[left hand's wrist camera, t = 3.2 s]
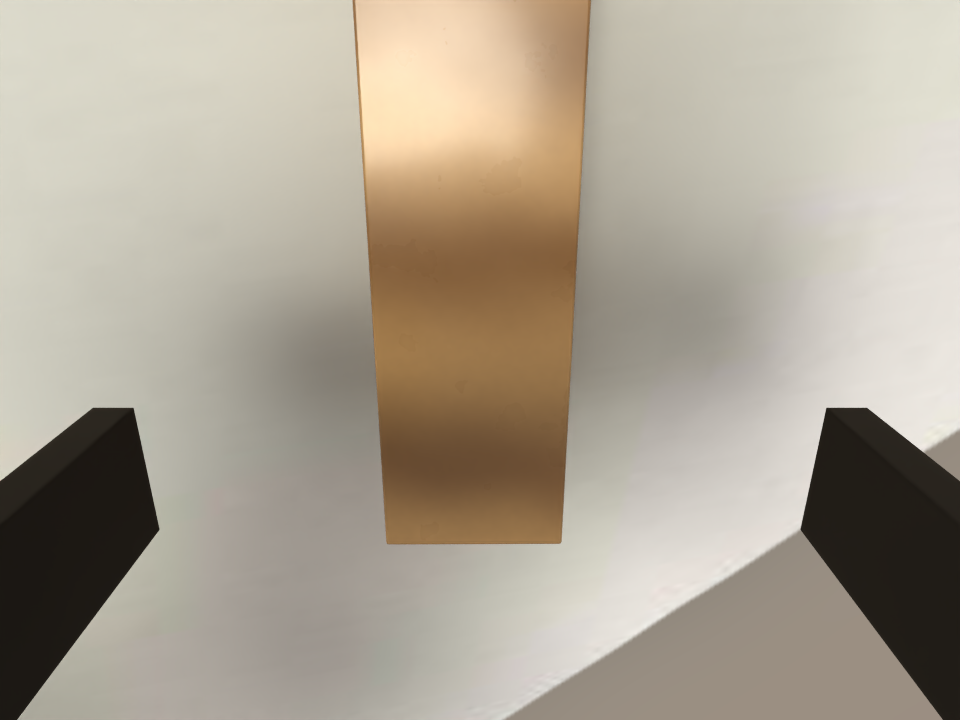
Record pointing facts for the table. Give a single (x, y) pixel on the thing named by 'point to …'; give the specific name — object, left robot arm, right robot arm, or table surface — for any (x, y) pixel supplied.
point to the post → (472, 258)
